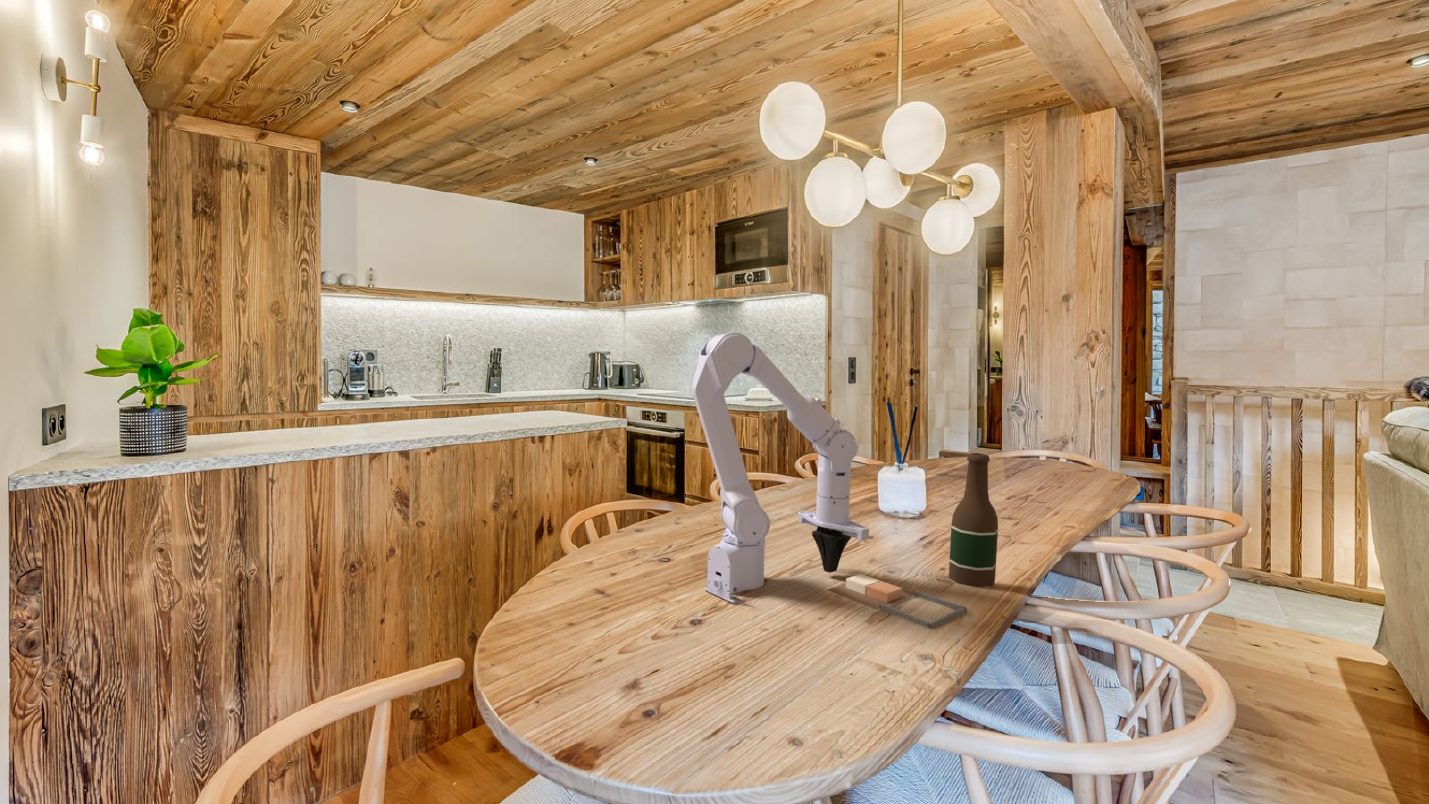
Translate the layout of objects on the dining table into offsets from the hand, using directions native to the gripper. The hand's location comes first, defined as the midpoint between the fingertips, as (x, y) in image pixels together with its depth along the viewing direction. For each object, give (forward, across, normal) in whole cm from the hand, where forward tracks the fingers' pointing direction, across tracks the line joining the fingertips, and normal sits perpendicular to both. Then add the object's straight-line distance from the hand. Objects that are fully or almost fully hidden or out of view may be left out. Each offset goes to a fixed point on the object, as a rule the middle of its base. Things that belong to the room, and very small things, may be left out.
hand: (830, 570), depth 114 cm
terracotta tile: (+1, -11, 0) cm, 11 cm away
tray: (+2, -19, 0) cm, 19 cm away
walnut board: (+2, -9, 0) cm, 9 cm away
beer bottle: (+3, -16, -20) cm, 25 cm away
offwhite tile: (+1, -7, 0) cm, 7 cm away
